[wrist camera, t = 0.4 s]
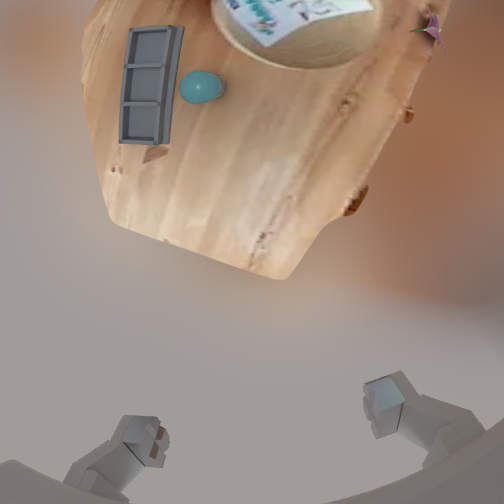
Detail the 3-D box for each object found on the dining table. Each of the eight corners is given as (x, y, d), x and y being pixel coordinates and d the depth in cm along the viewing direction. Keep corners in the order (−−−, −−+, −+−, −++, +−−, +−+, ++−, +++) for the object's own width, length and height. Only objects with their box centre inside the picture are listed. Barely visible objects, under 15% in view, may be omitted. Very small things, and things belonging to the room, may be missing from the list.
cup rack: (132, 30, 35) (124, 27, 32) (184, 27, 36) (179, 23, 33) (121, 140, 50) (113, 145, 46) (169, 143, 50) (163, 147, 47)
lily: (429, 66, 38) (465, 63, 30) (399, 41, 33) (440, 34, 25) (423, 26, 34) (456, 21, 26) (393, 1, 30) (428, -9, 21)
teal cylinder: (194, 85, 44) (172, 86, 31) (215, 69, 42) (200, 64, 30) (210, 103, 46) (193, 110, 34) (231, 88, 44) (222, 89, 32)
